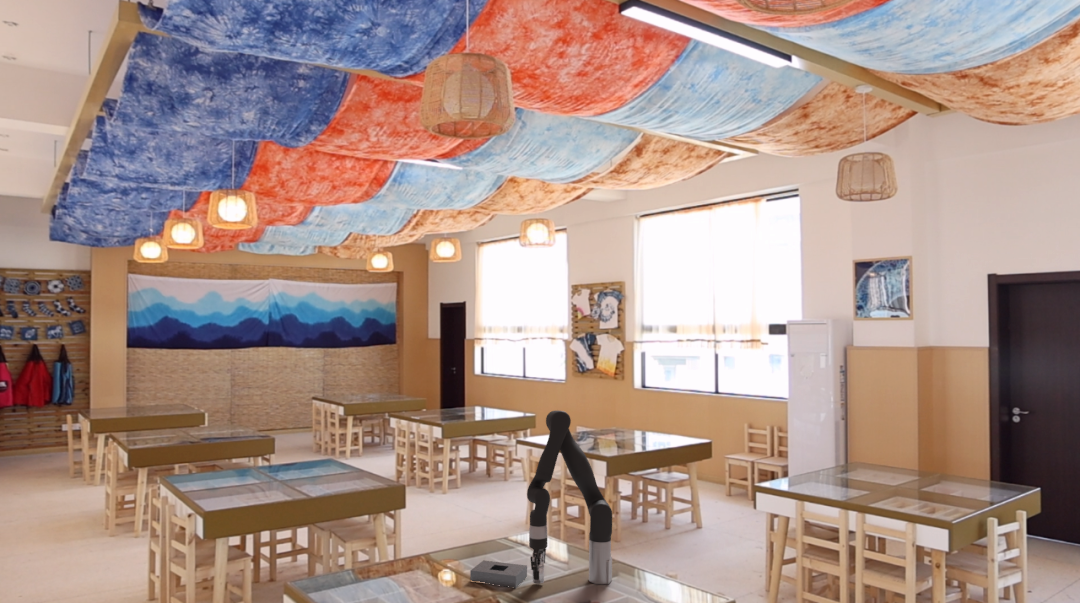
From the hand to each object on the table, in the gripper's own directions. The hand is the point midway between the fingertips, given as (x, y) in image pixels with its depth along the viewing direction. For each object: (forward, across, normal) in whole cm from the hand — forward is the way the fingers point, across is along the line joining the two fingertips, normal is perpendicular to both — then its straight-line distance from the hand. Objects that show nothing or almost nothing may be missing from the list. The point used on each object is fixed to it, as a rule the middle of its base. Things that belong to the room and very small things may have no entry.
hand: (538, 577), depth 308 cm
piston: (+2, 0, 0) cm, 2 cm away
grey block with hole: (+3, 0, +18) cm, 18 cm away
